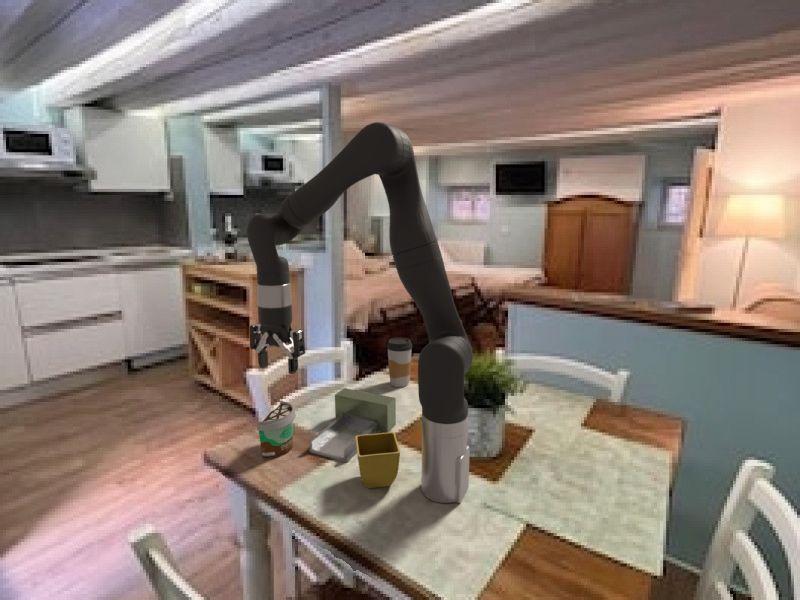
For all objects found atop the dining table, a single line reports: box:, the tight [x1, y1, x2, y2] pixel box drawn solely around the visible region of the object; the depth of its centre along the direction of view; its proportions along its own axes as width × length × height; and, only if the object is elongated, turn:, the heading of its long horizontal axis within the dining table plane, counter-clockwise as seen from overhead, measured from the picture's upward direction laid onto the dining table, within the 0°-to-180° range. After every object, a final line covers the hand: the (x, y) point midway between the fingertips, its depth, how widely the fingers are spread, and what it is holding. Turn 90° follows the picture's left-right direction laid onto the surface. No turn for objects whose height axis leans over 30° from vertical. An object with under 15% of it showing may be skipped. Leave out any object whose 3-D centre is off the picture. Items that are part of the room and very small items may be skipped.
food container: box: [256, 400, 297, 460], centre depth 108 cm, size 12×6×10 cm, turn 168°
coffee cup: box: [386, 337, 413, 388], centre depth 147 cm, size 8×8×15 cm
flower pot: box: [355, 431, 401, 489], centre depth 95 cm, size 9×9×9 cm
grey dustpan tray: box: [308, 387, 397, 463], centre depth 114 cm, size 16×21×8 cm
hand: (278, 369), depth 105 cm, fingers open, 8 cm apart
